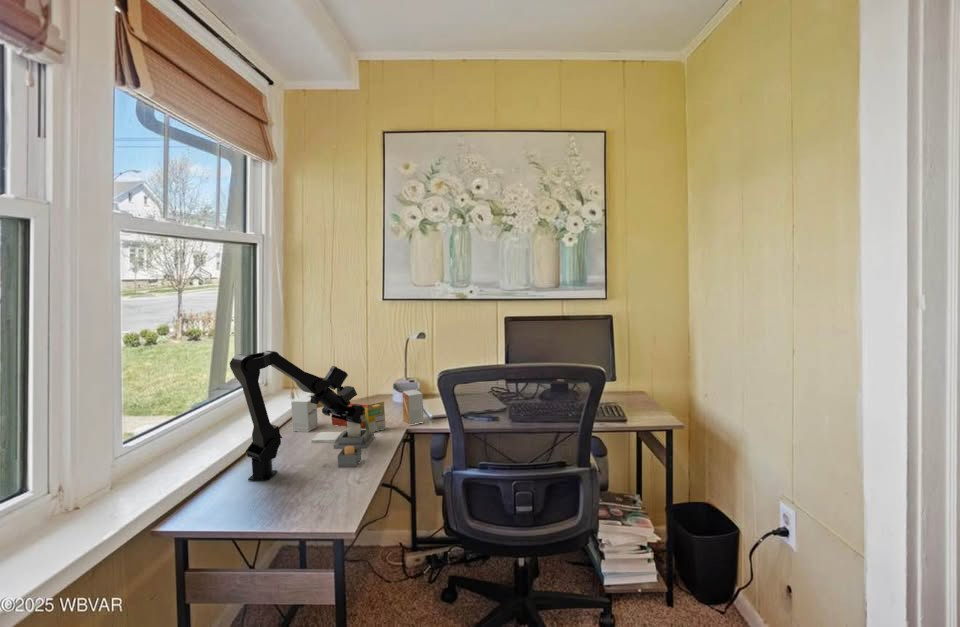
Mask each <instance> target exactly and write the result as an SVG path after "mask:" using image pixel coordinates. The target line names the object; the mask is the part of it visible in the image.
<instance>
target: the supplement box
mask: <svg viewBox="0 0 960 627" xmlns="http://www.w3.org/2000/svg"><path fill="white" fill-rule="evenodd" d="M310 400H311V396H307V397H306V396H300V397H298V398H297V399H295V400H292V401H291V403H290V404H291V420H292V432H295V431H297V432H299V433H309V432H311V431H312V430H314V429H316V428H318V426H319V422H318V404H313V403H310Z"/></svg>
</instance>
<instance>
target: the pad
mask: <svg viewBox="0 0 960 627" xmlns="http://www.w3.org/2000/svg"><path fill="white" fill-rule="evenodd" d="M342 433H343V431H325V432H324V431H320V432H318V433H317V434H316V435H315V436H314V437H313V438H312V439H311V440H310V441H311V443H312V444H313V443H314V444H315V443H316V444H318V443H319V444H321V443H336V442H337V441H338V437H339V436H340V435H341V434H342Z"/></svg>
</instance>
